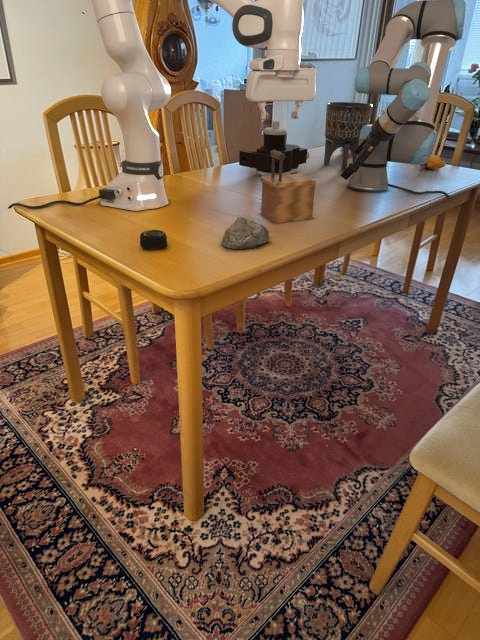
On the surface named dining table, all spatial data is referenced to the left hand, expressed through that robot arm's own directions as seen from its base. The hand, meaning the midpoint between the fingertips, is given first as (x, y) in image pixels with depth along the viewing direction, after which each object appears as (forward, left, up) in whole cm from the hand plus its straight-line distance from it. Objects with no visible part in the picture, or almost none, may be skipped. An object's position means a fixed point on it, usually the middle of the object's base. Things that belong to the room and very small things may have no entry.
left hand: (279, 119), depth 128 cm
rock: (-3, -25, -28) cm, 38 cm away
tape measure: (-25, -35, -28) cm, 52 cm away
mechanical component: (-8, +63, -28) cm, 69 cm away
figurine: (+18, +120, -28) cm, 124 cm away
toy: (+57, +97, -28) cm, 116 cm away
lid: (+3, +2, -18) cm, 18 cm away
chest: (+3, +3, -28) cm, 29 cm away
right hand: (+21, +36, -18) cm, 45 cm away
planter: (+17, +85, -28) cm, 91 cm away
